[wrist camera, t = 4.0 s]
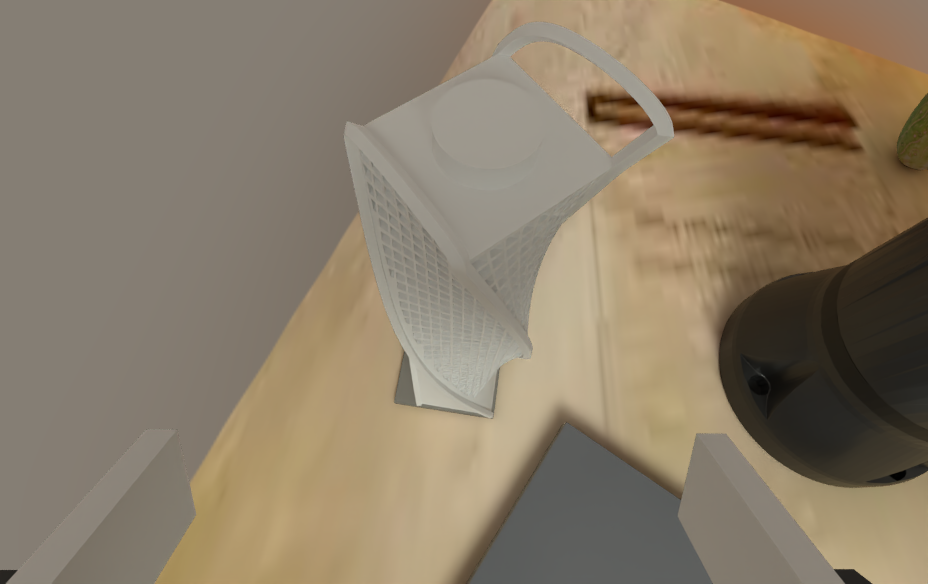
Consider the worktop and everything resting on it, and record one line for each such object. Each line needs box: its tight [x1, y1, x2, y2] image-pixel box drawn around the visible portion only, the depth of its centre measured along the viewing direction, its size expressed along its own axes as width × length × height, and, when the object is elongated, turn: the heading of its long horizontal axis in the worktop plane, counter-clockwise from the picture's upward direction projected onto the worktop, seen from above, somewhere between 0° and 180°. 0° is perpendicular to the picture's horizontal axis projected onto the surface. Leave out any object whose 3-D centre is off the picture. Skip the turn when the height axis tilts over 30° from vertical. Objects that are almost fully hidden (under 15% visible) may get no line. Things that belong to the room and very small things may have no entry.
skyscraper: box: [344, 22, 674, 419], centre depth 24 cm, size 8×8×28 cm
